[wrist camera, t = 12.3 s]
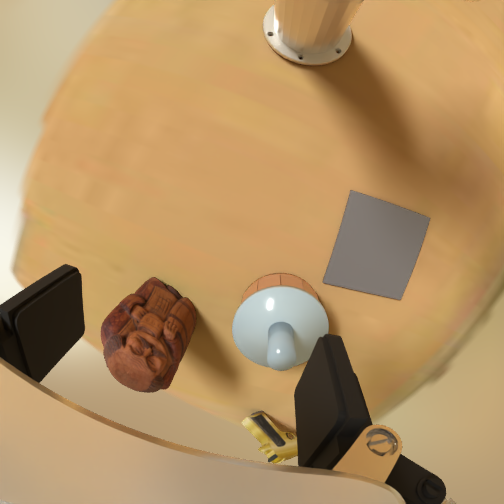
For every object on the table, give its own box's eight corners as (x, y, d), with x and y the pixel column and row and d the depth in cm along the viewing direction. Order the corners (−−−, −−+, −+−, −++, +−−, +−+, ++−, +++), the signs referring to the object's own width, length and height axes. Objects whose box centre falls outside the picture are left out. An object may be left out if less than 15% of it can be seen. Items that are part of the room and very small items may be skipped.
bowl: (250, 264, 41) (247, 279, 36) (328, 283, 41) (336, 299, 36) (233, 331, 45) (229, 352, 39) (304, 346, 45) (307, 367, 39)
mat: (350, 190, 37) (351, 190, 36) (429, 217, 37) (430, 218, 36) (322, 281, 41) (323, 282, 41) (399, 298, 41) (400, 300, 41)
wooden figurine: (210, 314, 44) (179, 394, 27) (189, 337, 46) (154, 415, 29) (151, 268, 42) (90, 327, 25) (133, 294, 44) (76, 357, 27)
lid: (244, 274, 36) (238, 300, 29) (340, 297, 36) (354, 324, 29) (225, 353, 40) (217, 385, 33) (309, 370, 40) (314, 402, 33)
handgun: (244, 412, 48) (271, 463, 39) (308, 403, 59) (334, 441, 50) (238, 418, 49) (263, 468, 39) (302, 409, 59) (327, 446, 50)
